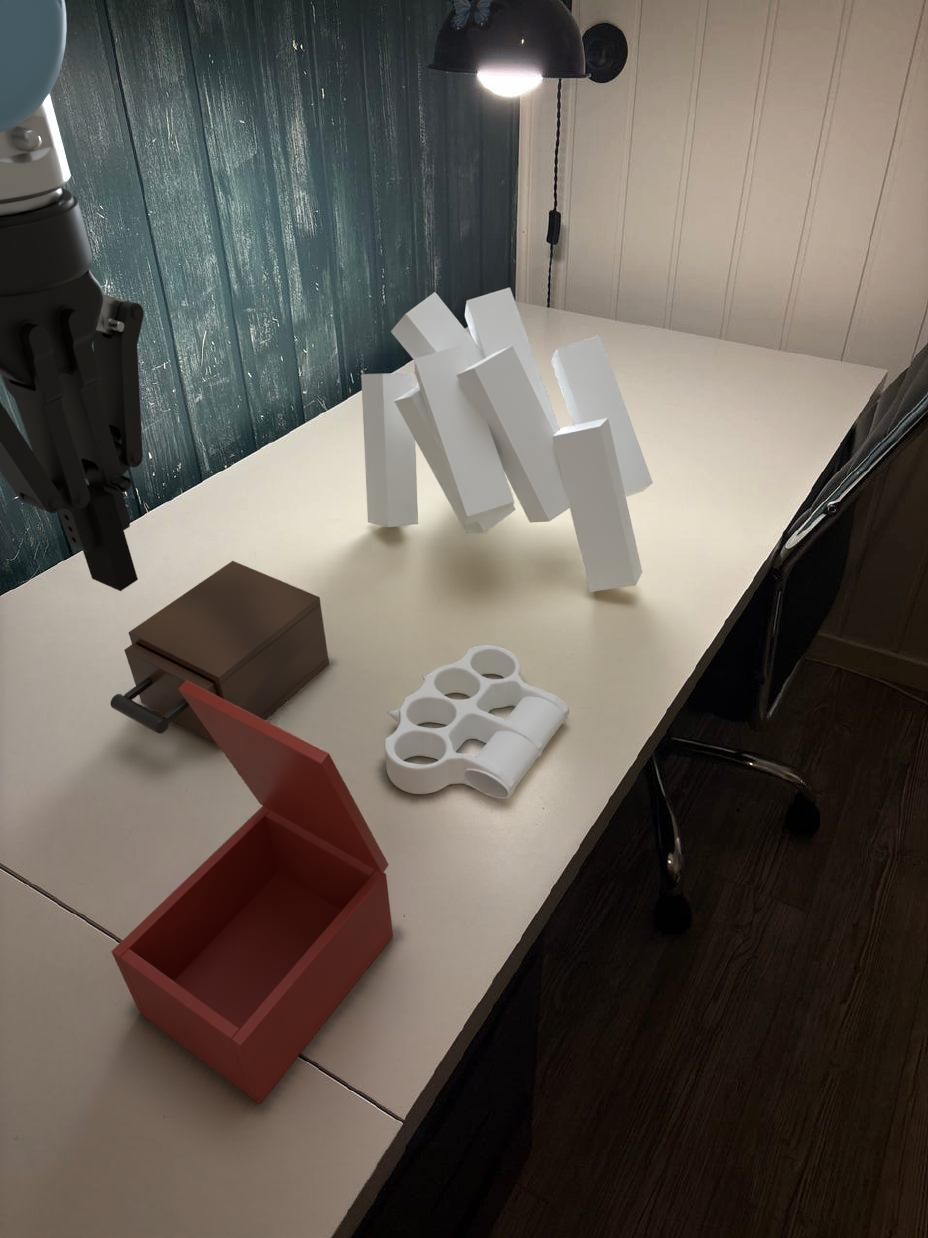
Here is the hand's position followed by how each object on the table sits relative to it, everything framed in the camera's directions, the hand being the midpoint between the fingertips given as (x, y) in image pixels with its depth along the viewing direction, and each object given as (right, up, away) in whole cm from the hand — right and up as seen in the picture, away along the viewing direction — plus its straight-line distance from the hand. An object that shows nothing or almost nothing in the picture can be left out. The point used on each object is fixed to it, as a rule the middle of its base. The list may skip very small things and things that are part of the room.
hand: (115, 578), depth 60 cm
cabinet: (+1, -9, +32) cm, 33 cm away
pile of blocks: (+28, +8, +52) cm, 60 cm away
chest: (+9, -29, +7) cm, 31 cm away
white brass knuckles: (+24, -14, +25) cm, 37 cm away
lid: (+11, -14, 0) cm, 18 cm away
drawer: (-2, -10, +28) cm, 30 cm away
